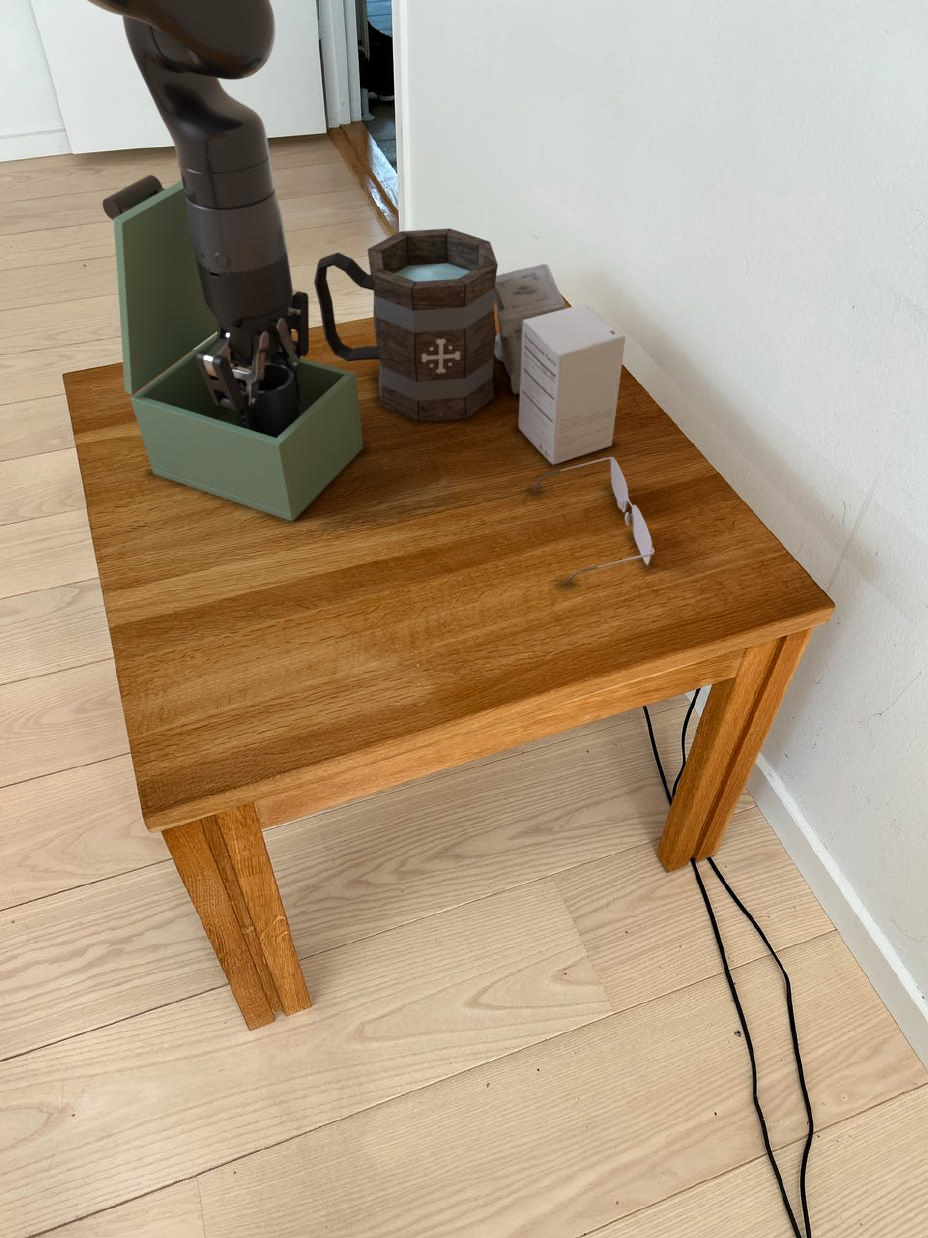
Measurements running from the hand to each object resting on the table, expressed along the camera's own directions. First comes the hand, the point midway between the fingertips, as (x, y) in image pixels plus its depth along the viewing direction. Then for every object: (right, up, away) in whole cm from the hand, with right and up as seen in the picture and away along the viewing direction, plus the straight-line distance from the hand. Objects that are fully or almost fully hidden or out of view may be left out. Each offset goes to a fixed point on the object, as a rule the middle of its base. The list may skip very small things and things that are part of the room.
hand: (271, 418), depth 89 cm
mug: (+12, +7, +15) cm, 20 cm away
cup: (0, -2, +3) cm, 3 cm away
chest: (-2, -3, +5) cm, 6 cm away
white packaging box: (+29, -1, +8) cm, 30 cm away
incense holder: (+25, +9, +16) cm, 32 cm away
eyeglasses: (+30, -11, -3) cm, 32 cm away
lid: (-7, +11, -6) cm, 14 cm away
